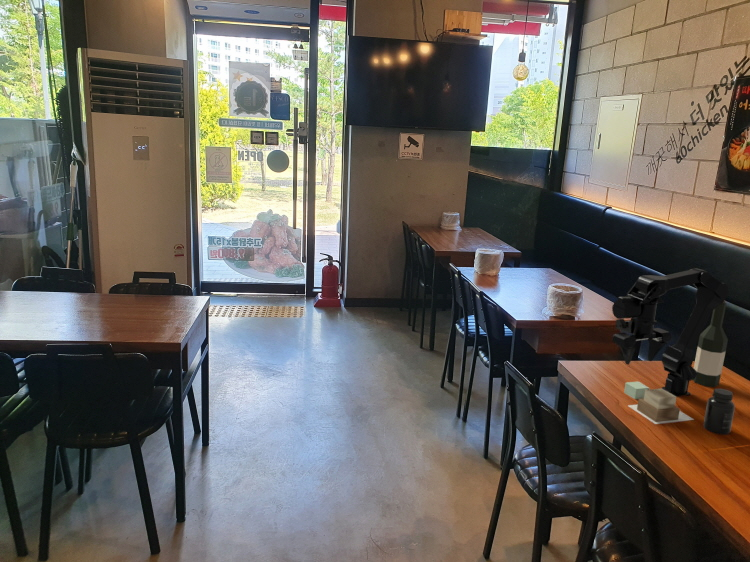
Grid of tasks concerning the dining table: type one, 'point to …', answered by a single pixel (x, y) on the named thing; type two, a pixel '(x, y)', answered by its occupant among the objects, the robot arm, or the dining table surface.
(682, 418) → the grey mat
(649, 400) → the birch block
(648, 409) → the walnut slab
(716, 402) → the supplement bottle
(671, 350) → the robot arm
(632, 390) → the sage block
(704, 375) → the wine bottle
